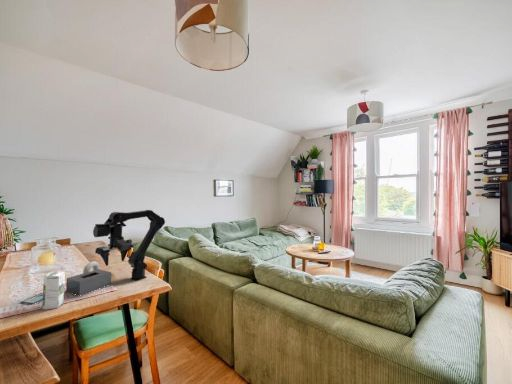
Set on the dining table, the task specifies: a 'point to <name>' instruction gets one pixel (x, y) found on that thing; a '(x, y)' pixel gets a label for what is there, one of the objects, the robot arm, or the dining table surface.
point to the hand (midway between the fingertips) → (115, 263)
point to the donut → (90, 265)
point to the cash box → (88, 282)
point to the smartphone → (33, 299)
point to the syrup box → (53, 290)
